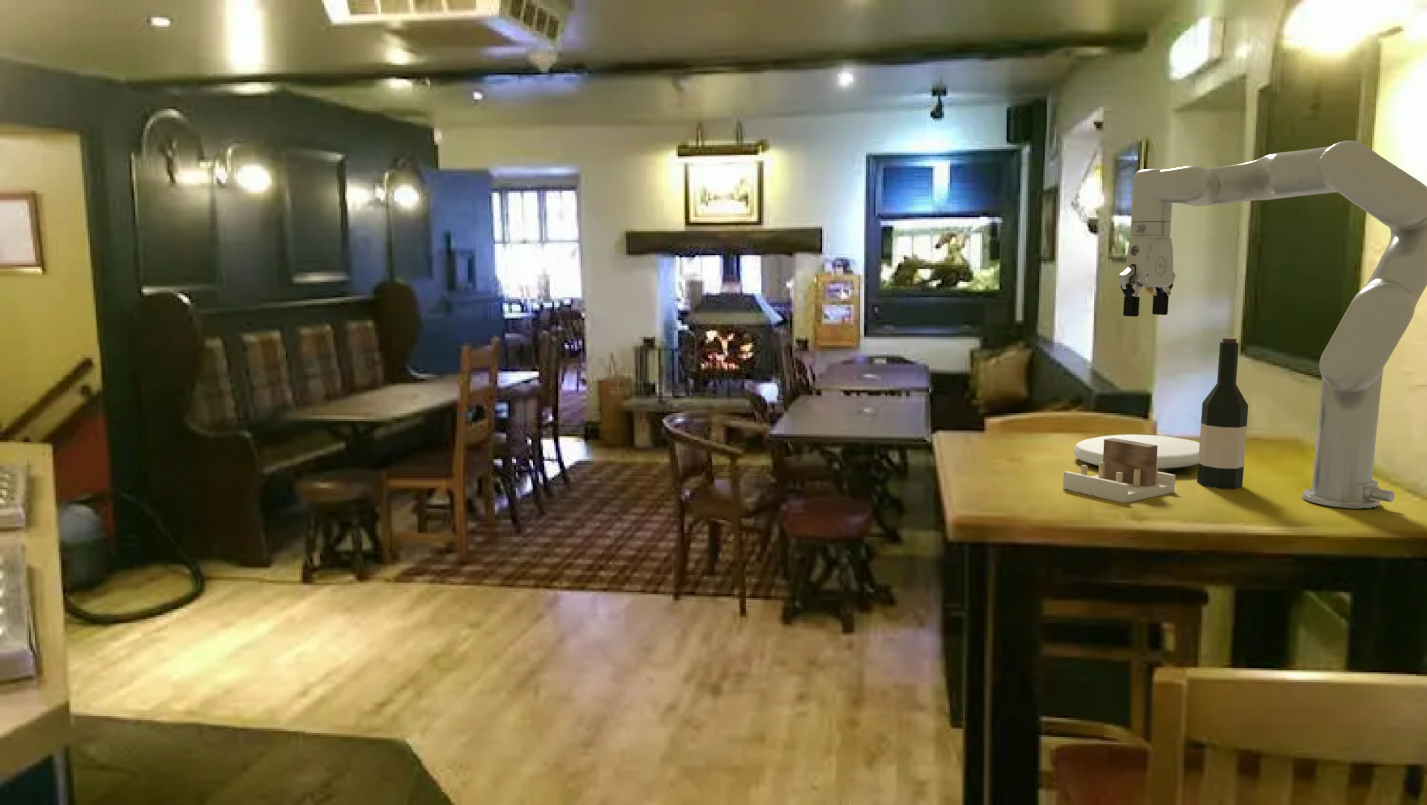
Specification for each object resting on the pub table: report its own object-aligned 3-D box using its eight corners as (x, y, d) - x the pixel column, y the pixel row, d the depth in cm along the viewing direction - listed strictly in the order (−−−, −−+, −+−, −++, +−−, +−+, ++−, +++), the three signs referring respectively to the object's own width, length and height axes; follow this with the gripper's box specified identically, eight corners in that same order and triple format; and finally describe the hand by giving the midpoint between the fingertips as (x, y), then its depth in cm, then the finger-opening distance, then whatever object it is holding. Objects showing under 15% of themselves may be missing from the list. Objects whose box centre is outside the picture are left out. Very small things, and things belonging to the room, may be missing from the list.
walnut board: (1155, 485, 200) (1157, 445, 199) (1145, 487, 198) (1148, 447, 197) (1111, 476, 208) (1113, 437, 207) (1102, 477, 206) (1104, 439, 205)
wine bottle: (1217, 490, 202) (1228, 340, 198) (1187, 481, 210) (1197, 337, 205) (1251, 487, 204) (1263, 339, 200) (1221, 478, 212) (1231, 336, 208)
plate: (1090, 454, 216) (1060, 433, 242) (1092, 483, 216) (1062, 460, 243) (1227, 442, 212) (1182, 422, 239) (1229, 472, 213) (1183, 449, 239)
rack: (1174, 492, 200) (1175, 467, 200) (1124, 502, 192) (1125, 477, 191) (1112, 479, 212) (1114, 455, 211) (1063, 488, 203) (1064, 464, 203)
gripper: (1140, 230, 198) (1135, 317, 200) (1192, 231, 207) (1187, 314, 209) (1107, 231, 204) (1103, 316, 206) (1159, 232, 213) (1154, 313, 216)
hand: (1145, 315), depth 208 cm, fingers open, 9 cm apart
